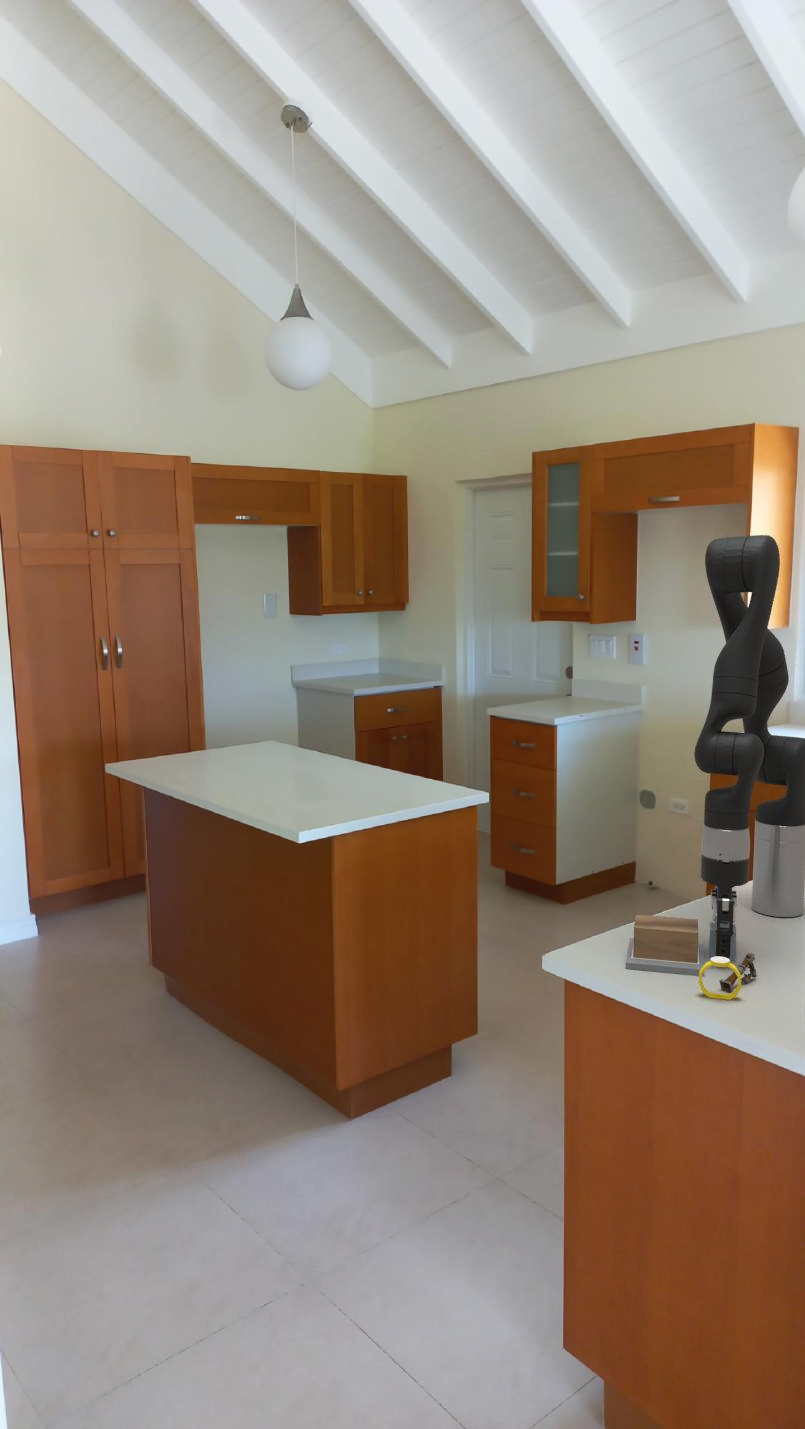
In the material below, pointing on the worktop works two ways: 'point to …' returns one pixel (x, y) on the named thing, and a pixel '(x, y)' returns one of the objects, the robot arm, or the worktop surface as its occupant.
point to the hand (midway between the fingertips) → (721, 948)
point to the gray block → (713, 941)
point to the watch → (720, 962)
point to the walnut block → (666, 938)
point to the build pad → (664, 963)
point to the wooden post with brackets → (730, 981)
